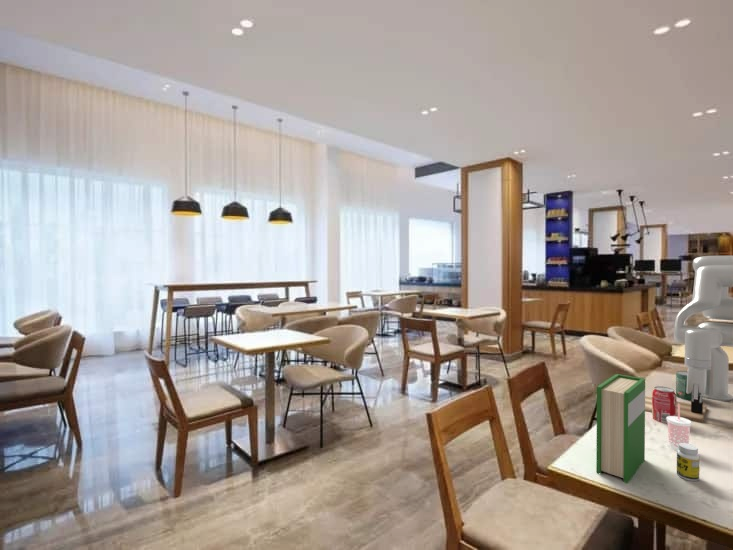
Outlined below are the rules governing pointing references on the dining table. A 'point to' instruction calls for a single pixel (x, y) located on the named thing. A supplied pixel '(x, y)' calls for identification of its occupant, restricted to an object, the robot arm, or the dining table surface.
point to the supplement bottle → (688, 462)
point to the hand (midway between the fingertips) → (696, 412)
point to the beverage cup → (678, 430)
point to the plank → (687, 414)
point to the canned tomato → (682, 385)
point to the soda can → (663, 403)
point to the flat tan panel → (648, 403)
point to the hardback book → (620, 426)
